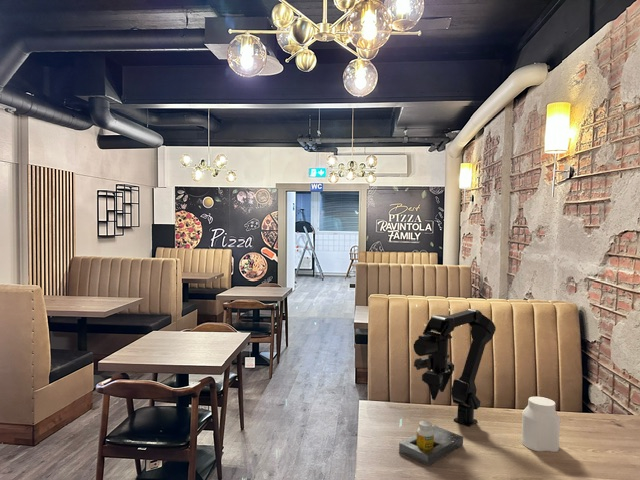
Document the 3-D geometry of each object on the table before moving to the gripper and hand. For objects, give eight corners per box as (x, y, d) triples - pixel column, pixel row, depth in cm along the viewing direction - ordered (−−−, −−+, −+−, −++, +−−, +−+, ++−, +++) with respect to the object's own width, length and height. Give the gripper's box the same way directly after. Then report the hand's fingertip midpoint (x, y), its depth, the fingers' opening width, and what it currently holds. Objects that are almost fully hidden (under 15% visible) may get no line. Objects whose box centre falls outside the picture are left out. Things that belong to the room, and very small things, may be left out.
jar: (529, 451, 151) (531, 406, 150) (516, 437, 160) (518, 395, 160) (564, 452, 151) (566, 407, 150) (550, 438, 160) (551, 396, 160)
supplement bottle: (424, 446, 152) (425, 418, 152) (436, 454, 148) (437, 424, 147) (412, 451, 149) (413, 421, 149) (424, 458, 145) (425, 428, 144)
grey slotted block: (434, 433, 162) (434, 425, 162) (462, 445, 154) (463, 436, 154) (399, 451, 148) (399, 442, 148) (427, 465, 140) (428, 456, 140)
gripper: (425, 342, 175) (424, 383, 175) (408, 354, 159) (406, 398, 159) (455, 347, 169) (453, 389, 169) (439, 359, 153) (438, 406, 153)
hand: (437, 395), depth 163 cm, fingers open, 9 cm apart
